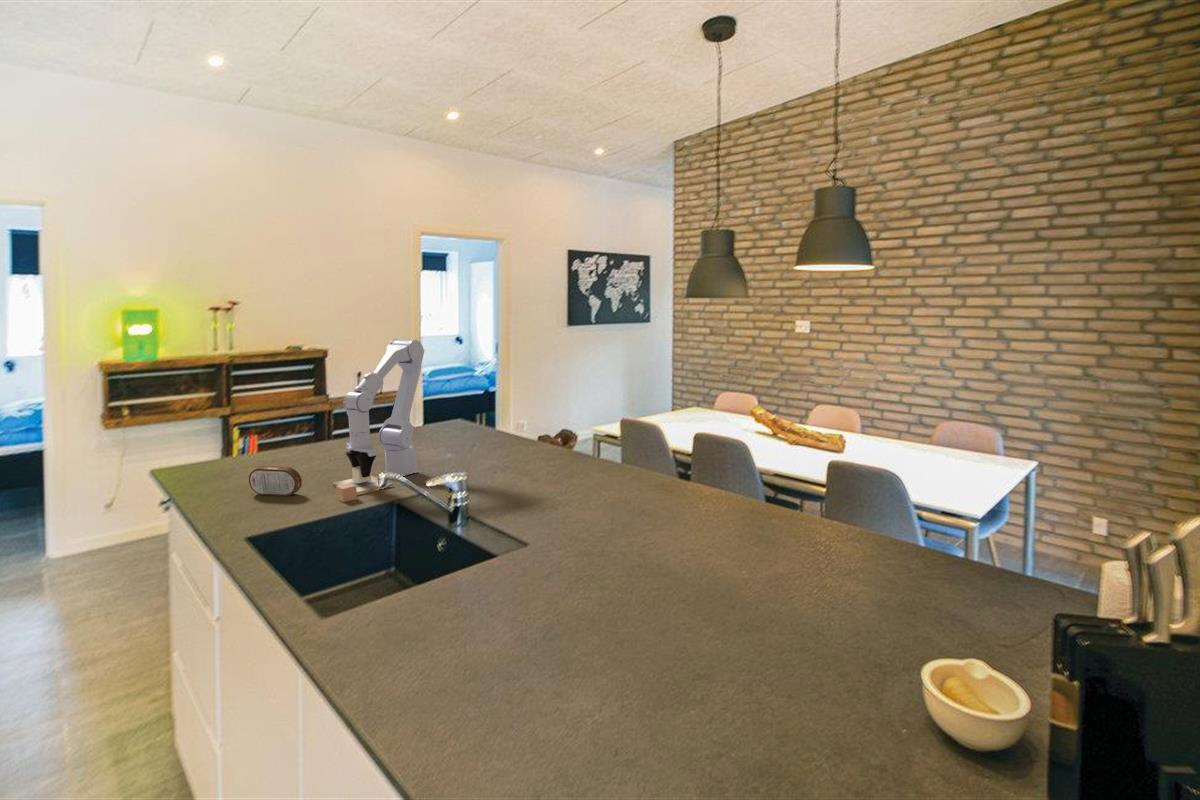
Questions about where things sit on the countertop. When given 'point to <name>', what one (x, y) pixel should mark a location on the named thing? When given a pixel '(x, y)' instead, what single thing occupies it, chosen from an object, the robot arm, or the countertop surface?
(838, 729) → the countertop surface
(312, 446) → the countertop surface
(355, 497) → the block top
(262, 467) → the tin
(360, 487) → the base board
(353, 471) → the block base
